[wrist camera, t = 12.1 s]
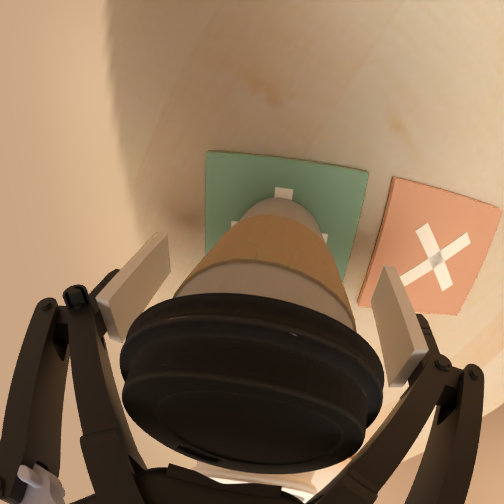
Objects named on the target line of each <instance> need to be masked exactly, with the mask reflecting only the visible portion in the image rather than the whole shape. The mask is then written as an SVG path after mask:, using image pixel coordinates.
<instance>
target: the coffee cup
mask: <svg viewBox="0 0 504 504" xmlns="http://www.w3.org/2000/svg"><path fill="white" fill-rule="evenodd" d="M120 369H121V374H122V376H123V379H124V381H125V384H124V388H123V391H122V402H123V405H124V407H125V409H126V411H127V413H128V414H129V416H130V417H131V418H132V420H133V421H134V422H135V423H136V424H137V425H138V426H139V427H140V428H141V429H143V430H144V431H145V432H146V433H148V434H149V435H150V436H151V437H153V438H154V439H156V440H157V441H159V442H160V443H162V444H163V445H165V446H167V447H169V448H171V449H172V450H174V451H176V452H179V453H181V454H183V455H185V456H187V457H190V458H192V459H195V460H198V461H200V462H203V463H206V464H210V465H213V466H217V467H221V468H225V469H229V470H234V471H240V472H247V473H255V474H297V473H305V472H311V471H316V470H320V469H324V468H327V467H330V466H333V465H336V464H338V463H340V462H343V461H345V460H346V459H348V458H350V457H351V456H352V455H354V454H355V453H356V452H357V451H358V450H359V449H360V447H361V446H362V444H363V441H364V438H365V432H366V429H367V428H368V427H369V426H370V425H371V424H372V423H373V421H374V420H375V419H376V417H377V415H378V413H379V412H380V409H381V406H382V402H383V387H384V371H383V367H382V364H381V361H380V359H379V357H378V356H377V354H376V352H375V351H374V349H373V348H372V347H371V346H370V345H369V343H368V342H367V341H366V340H364V339H363V338H362V337H361V336H360V335H359V334H357V332H356V325H355V319H354V316H353V313H352V310H351V307H350V304H349V301H348V298H347V295H346V292H345V289H344V286H343V283H342V280H341V278H340V275H339V272H338V269H337V266H336V264H335V261H334V258H333V256H332V254H331V252H330V250H329V248H328V246H327V245H326V244H325V241H324V239H323V236H322V233H321V231H320V228H319V225H318V224H317V222H316V220H315V218H314V217H313V216H312V214H311V213H310V212H309V211H308V210H307V209H305V208H304V207H303V206H302V205H300V204H298V203H296V202H294V201H292V200H289V199H285V198H279V197H276V198H268V199H264V200H262V201H260V202H258V203H256V204H255V205H254V206H252V207H251V208H250V209H249V210H248V211H247V212H246V213H245V215H244V216H243V217H242V218H241V219H240V220H239V221H238V223H236V224H235V225H234V226H232V227H231V228H230V229H229V230H228V231H227V232H226V233H225V234H224V235H223V236H222V237H221V238H220V239H219V241H218V242H217V243H216V244H215V245H214V246H213V248H212V249H211V250H210V251H209V252H208V253H207V255H206V256H205V257H204V258H203V259H202V260H201V262H200V263H199V264H198V265H197V266H196V267H195V269H194V270H193V271H192V272H191V273H190V275H189V276H188V277H187V278H186V279H185V281H184V282H183V283H182V284H181V286H180V287H179V288H178V290H177V291H176V292H175V294H174V296H173V298H172V299H169V300H166V301H163V302H161V303H158V304H156V305H154V306H152V307H150V308H148V309H147V310H146V311H144V312H143V313H141V314H140V315H139V316H138V317H137V318H136V319H135V320H134V322H133V323H132V324H131V326H130V328H129V330H128V333H127V336H126V341H125V343H124V345H123V347H122V349H121V353H120Z"/></svg>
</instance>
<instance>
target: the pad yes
mask: <svg viewBox="0 0 504 504" xmlns="http://www.w3.org/2000/svg"><path fill="white" fill-rule="evenodd" d="M368 175H369V173H368V172H367V171H365V170H359V169H354V168H349V167H344V166H338V165H332V164H326V163H320V162H313V161H307V160H300V159H292V158H284V157H276V156H267V155H258V154H247V153H235V152H222V151H207V152H206V193H205V239H206V255H207V253H208V252H209V251H210V250H211V249H212V248H213V246H214V245H215V244H216V243H217V242H218V241H219V239H220V238H221V237H222V236H223V235H224V234H225V233H226V232H227V231H228V230H229V229H230V228H231V227H232V226H234V225H235V224H236V223H238V221H239V220H240V219H241V218H242V217H243V216H244V215H245V213H246V212H247V211H248V210H249V209H250V208H251V207H252V206H254V205H255V204H256V203H258V202H260V201H262V200H264V199H268V198H276V197H279V198H285V199H289V200H292V201H294V202H296V203H298V204H300V205H302V206H303V207H304V208H305V209H307V210H308V211H309V212H310V213H311V214H312V216H313V217H314V218H315V220H316V222H317V224H318V225H319V228H320V231H321V233H322V236H323V239H324V241H325V244H326V245H327V246H328V248H329V250H330V252H331V254H332V256H333V258H334V261H335V264H336V266H337V269H338V272H339V275H340V278H341V280H342V282H343V278H344V275H345V271H346V268H347V264H348V261H349V257H350V253H351V249H352V246H353V242H354V238H355V234H356V230H357V226H358V222H359V217H360V213H361V209H362V204H363V199H364V195H365V190H366V185H367V180H368Z"/></svg>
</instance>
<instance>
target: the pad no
mask: <svg viewBox="0 0 504 504" xmlns="http://www.w3.org/2000/svg"><path fill="white" fill-rule="evenodd" d="M501 214H502V210H501V209H500V208H498V207H495V206H492V205H489V204H486V203H484V202H481V201H478V200H475V199H472V198H469V197H466V196H462V195H459V194H456V193H453V192H449V191H446V190H443V189H439V188H436V187H432V186H428V185H425V184H421V183H417V182H413V181H409V180H405V179H401V178H397V177H393V179H392V184H391V188H390V193H389V197H388V201H387V205H386V209H385V213H384V217H383V221H382V225H381V228H380V232H379V236H378V239H377V243H376V246H375V249H374V253H373V256H372V259H371V262H370V266H369V269H368V272H367V275H366V278H365V281H364V284H363V287H362V290H361V292H360V295H359V298H358V301H357V303H358V306H362V307H371V308H372V305H371V302H370V301H371V299H372V296H373V293H374V291H375V288H376V285H377V283H378V280H379V277H380V274H381V271H382V269H383V266H384V265H387V266H393V267H395V268H396V270H397V272H398V275H399V277H400V279H401V281H402V283H403V286H404V288H405V290H406V293H407V295H408V297H409V300H410V302H411V304H412V307H413V309H414V312H421V313H433V314H445V315H458V313H459V311H460V309H461V307H462V305H463V304H464V302H465V300H466V298H467V296H468V294H469V292H470V290H471V288H472V286H473V284H474V282H475V280H476V278H477V276H478V273H479V271H480V269H481V267H482V265H483V262H484V260H485V258H486V255H487V253H488V250H489V248H490V245H491V243H492V240H493V237H494V235H495V232H496V229H497V226H498V223H499V220H500V217H501Z"/></svg>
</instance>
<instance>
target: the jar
mask: <svg viewBox="0 0 504 504" xmlns="http://www.w3.org/2000/svg"><path fill="white" fill-rule="evenodd" d="M191 470H194V471H197V472H199V473H201V474H203V475H205V476H207V477H209V478H211V479H213V480H215V481H218V482H220V483H223V484H239V483H260V484H268V485H277V486H282V491H285V492H287V493H290V494H292V495H294V496H295V497H297V498H298V499H300V500H301V501H302V502H303V503H304V502H307V501H308V500H310V499H311V498H312V497H313V496H314V495H316V494H317V489H316V487H315V486H314V485H313V484H311V480H312V478H313V475H314V473H315V471H311V472H305V473H297V474H255V473H247V472H240V471H234V470H229V469H225V468H221V467H217V466H213V465H210V464H206V463H203V462H200V461H198V460H197V465H196V467H193V468H191Z"/></svg>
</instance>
